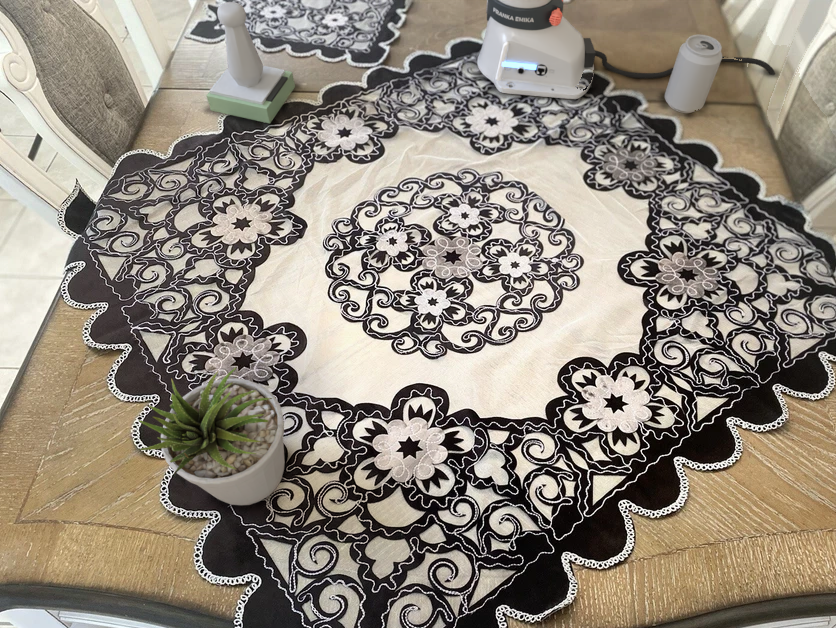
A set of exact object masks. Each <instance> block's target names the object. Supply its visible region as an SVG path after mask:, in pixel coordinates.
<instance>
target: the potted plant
mask: <svg viewBox="0 0 836 628" xmlns="http://www.w3.org/2000/svg"><path fill="white" fill-rule="evenodd" d="M237 368H238V367H237V366H236V367H234V368H233V369H231V370H230V371H229V372H228V373H227V374H226V375H225V376H224V377H223V378H221V379H217V380H216V377H217V375H218V373H219V370H216V372H215V373H214V374H213V376H212V377H211V378H210V379H209V381H208V382H206V383H204V384H202V385H199V386H197V387H195V388H193V389H192V390H191V391H189V392H187V393H186V394H185V395H183V396H182V395H181V394H180V393H179V391H178V390H177V387H176V385H175V382H174V380H173V378H171V386H172V390H173V392H172V393H171V396H170V398H171V402H172V403H171V404H169V405H168V406H169V407H170V408H171V409H170V410H169V411H165V410H162V409H159V408H157V407H155V406H153V405H150V404H148V407H149V408H150V409H152V410H153V411H155V412H156V413H157V414H159V415H160V416H162V417H165V419H162V418H160V417H158V416H152V418H153V419H155V420H156V421H157V422H158V423H161V424H162V426H159V425H156V424H152V423H149V422H147V421H144V420H141V419H138V422H139V423H141V424H142V425H144V426H146V427H148V428H150V429H152V430H154V431H156V432H158V433H159V434H160V436H157V439H158V440H159V441H160V442H159V443H156V444H153V445H150V446H146V447H142V448H138V451H150V450H161V452H162V455H163V457H164V460H165V462H166V463H167V465H168V466H169V467H170V468H171V469H172V470H173V471H174V473H173V475H176V474H177V475H179V476H180V477H181V478H183V479H184V480H186V481H187V482H189V483H191V484H194V485H196V486H198V487H199V488H200V489H202V490H204V491H205V492H206V493H208V494H210V495H211V496H213V497H214V498H216V499H217V500H218V501H221V502H224V503H226V504H229V505H231V506H250V505H253V504H256V503H259V502H261V501H263V500H264V499H265V498H268V497H269V496H270V495H271V494H272V493H273V492H274V491H275V490H276V489H277V488H278V486H279V484H280V483H281V481H282V479H283V474H284V472H285V471H284V470H285V463H286V462H285V446H284V435H285V421H284V416H283V409H282V407H281V404H280V402H279V401H278V399H277V397H276V396H275V395H274V394H273V393H272V391H270V390H269V389H267V388H266V387H264V386H263V385H262V384H260V383H257V382H254V381H251V380H249V379H244V378H238V377H235V378H229V377H230V376H231V375H232V374H233V373H234V372H235V371H236V370H237Z"/></svg>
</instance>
